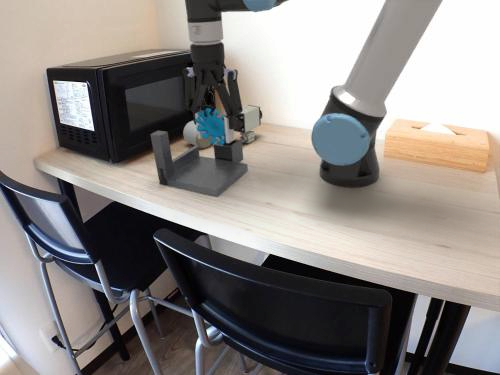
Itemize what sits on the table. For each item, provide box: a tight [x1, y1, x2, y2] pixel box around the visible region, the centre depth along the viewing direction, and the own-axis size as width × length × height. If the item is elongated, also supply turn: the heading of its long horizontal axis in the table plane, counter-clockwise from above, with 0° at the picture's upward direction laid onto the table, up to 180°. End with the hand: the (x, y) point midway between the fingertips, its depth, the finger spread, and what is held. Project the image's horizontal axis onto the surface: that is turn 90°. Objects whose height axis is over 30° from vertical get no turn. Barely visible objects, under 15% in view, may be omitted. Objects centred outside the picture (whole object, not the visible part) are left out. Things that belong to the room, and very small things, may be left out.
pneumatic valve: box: [234, 104, 263, 145], centre depth 120 cm, size 6×12×12 cm, turn 142°
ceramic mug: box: [182, 120, 220, 149], centre depth 121 cm, size 11×8×8 cm
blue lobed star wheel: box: [195, 108, 226, 145], centre depth 93 cm, size 11×6×10 cm
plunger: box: [216, 113, 233, 146], centre depth 105 cm, size 5×5×9 cm
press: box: [150, 130, 249, 198], centre depth 100 cm, size 18×22×14 cm
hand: (216, 138), depth 93 cm, fingers closed on blue lobed star wheel, 8 cm apart
